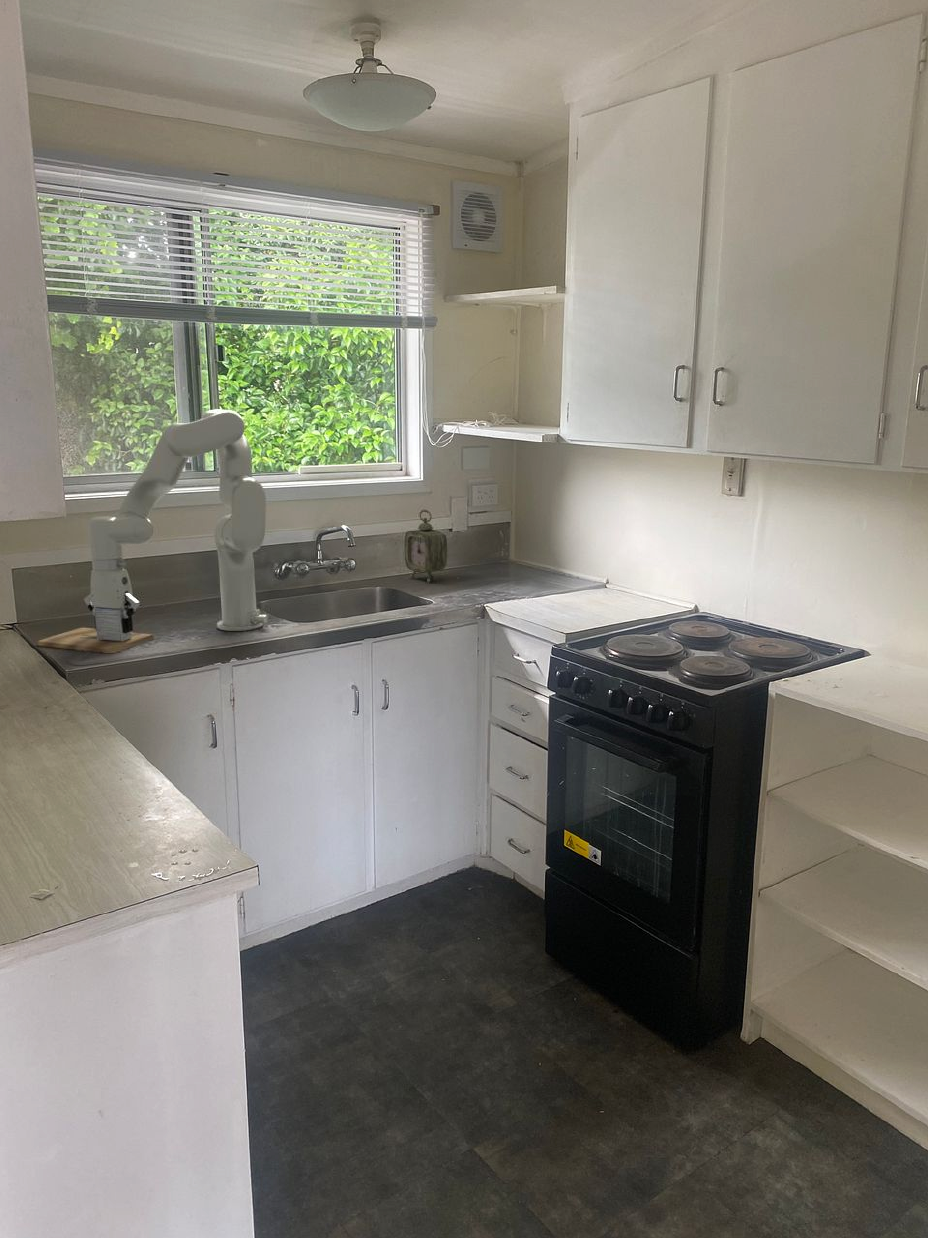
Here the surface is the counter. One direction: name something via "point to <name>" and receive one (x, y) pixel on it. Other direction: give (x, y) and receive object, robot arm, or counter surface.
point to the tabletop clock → (425, 549)
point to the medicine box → (110, 624)
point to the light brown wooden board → (92, 641)
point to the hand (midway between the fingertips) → (114, 630)
